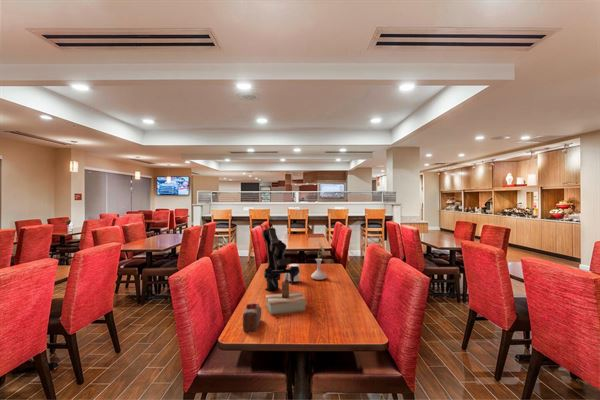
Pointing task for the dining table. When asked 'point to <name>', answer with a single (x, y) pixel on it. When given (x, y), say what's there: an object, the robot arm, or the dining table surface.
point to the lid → (285, 296)
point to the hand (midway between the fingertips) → (284, 285)
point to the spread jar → (296, 278)
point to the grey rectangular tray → (285, 308)
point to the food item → (251, 317)
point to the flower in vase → (319, 273)
